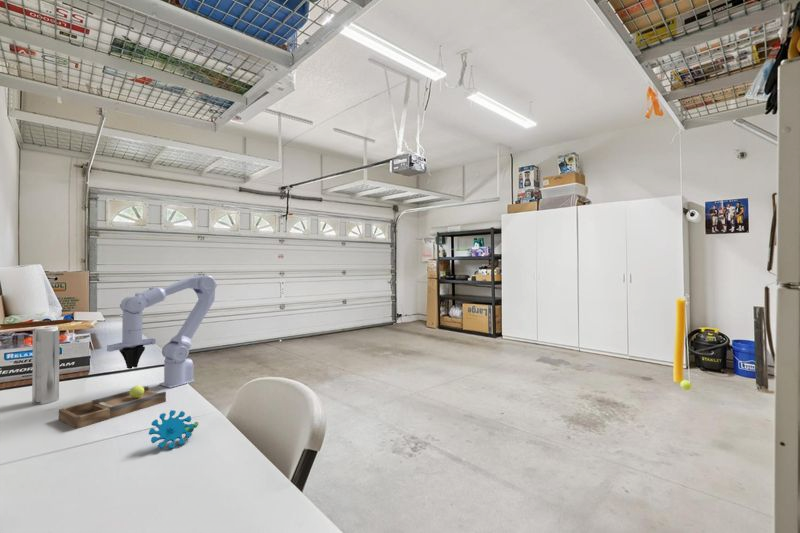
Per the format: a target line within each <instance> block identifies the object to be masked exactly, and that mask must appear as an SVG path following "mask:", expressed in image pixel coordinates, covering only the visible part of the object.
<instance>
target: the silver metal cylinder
mask: <svg viewBox="0 0 800 533" xmlns="http://www.w3.org/2000/svg"><path fill="white" fill-rule="evenodd" d="M31 376H32V377H31V380H32V382H31V383H32V386H31V387H32V391H31V392H32V395H31V397H32V398H31V403H32V405H37V406H38V405H46V404H51V403H54V402H57V401H58V400H59V398H60V329H59V327H58V326H56V325H51V326H50V325H49V326H41V327H36V328H34V330H33V331H32V375H31Z"/></svg>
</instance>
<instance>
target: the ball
mask: <svg viewBox="0 0 800 533" xmlns="http://www.w3.org/2000/svg"><path fill="white" fill-rule="evenodd" d="M143 387H144V386H142V385H134V386H132V388H130V390H129V391H130V393H129V394H130V396H131V397H132V398H139V397H141V396H142V395H143V394H144V388H143Z"/></svg>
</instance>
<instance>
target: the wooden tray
mask: <svg viewBox="0 0 800 533" xmlns="http://www.w3.org/2000/svg"><path fill="white" fill-rule="evenodd" d="M142 387H143V388H144V394H143V395H142V396H141V397H139V398H132V397H131V396H130V394H129V393H130V390H127V391H123V392H119V393H116V394H111V395H108V396H107V395H106V396H104V397H100V398H97V399H93V400H91V401H87V402H83V403H80V404H75V405H72V406H71V405H70V406H68V407H63V408H60V409H58V421H60V422H62V423H64V424H66V425H69V426H70V427H72V428H74V429H77V430H78V429H80V428H83V427H87V426H90V425H93V424H96V423H100V422H104V421H106V420H110V419H113V418H117V417H120V416H122V415H123V416H124V415H126V414H129V413H132V412H136V411H139V410H142V409H145V408H148V407H152V406H156V405H159V404H162V403H165V402H167V401H166V399H167V391H162V392H157V391H156V392H155V391H153V390H150V389H149V386H148V385H147V386H142Z"/></svg>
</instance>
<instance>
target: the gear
mask: <svg viewBox="0 0 800 533" xmlns="http://www.w3.org/2000/svg"><path fill="white" fill-rule="evenodd" d="M176 412H177V411H176V410H172V409H171V410H170V411H169V413H168V414H169V417H168V419H165V417H166V415H167V414H166V413H165V412H163V413H160V414H159V419H160V420H161V424H159V421H158V419H156V418H155V419H154V420H153V421H152V422H151V426H152V427H151V428H150V429H149V431H148V435H150V436H151V435H158V436H152V437H151V439H150V442H151V444H155V443H157V442H158V441H160V440H164V441H160V442H159V443H158V445H157V447H158V448H159V449H161V450H162V449H163V448H164V447H165V445H166V444H167V443H168V442H170V441H171V443H169V444H168V446H167V448H168V450H169V449H170V450H173V449H174V448H175V444H176V443H175V442H176V440H177V439H179V441H178V443H177V445H178V446H183V445H184V444H185V442H186V440H185V439H184V438H183V435H184V434H185V438H186V439H187V440H188V439H190V438H191V436H192V435H193V432H194V430H195V429H196V428H197V427H198V426H199V422H197V421H195V422H194V423H190V422H191V421H192V416H191V415H189V416H187V417H185V418H183V417H184V416H185V414H186V413H185V412H184V411H183V410H181V411H180V412H179V413H178V415H177V416H175V414H176ZM173 416H175V417H173ZM180 418H181V419H180ZM185 422H187V423H188V424H187V423H185ZM153 426H154V427H156V428H157V429H158V430H156V429H155V428H153Z"/></svg>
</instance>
